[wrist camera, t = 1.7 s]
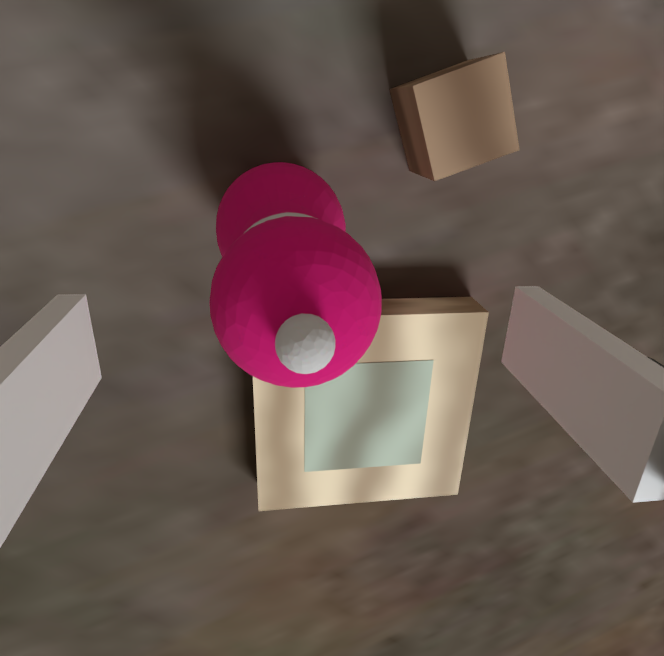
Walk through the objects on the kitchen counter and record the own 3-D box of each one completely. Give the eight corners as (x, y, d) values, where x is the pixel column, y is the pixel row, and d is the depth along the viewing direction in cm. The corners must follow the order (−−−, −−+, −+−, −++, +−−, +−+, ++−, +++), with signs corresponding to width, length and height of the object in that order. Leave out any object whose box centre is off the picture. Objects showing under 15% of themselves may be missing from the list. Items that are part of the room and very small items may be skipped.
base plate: (258, 483, 40) (258, 511, 38) (250, 302, 34) (250, 319, 31) (444, 469, 43) (457, 494, 40) (471, 296, 36) (488, 312, 33)
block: (409, 170, 32) (434, 181, 27) (389, 89, 30) (412, 85, 25) (481, 144, 32) (519, 150, 27) (466, 60, 30) (504, 51, 25)
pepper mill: (354, 196, 32) (484, 314, 14) (296, 287, 34) (342, 493, 16) (257, 131, 29) (260, 169, 11) (200, 232, 31) (125, 402, 13)
